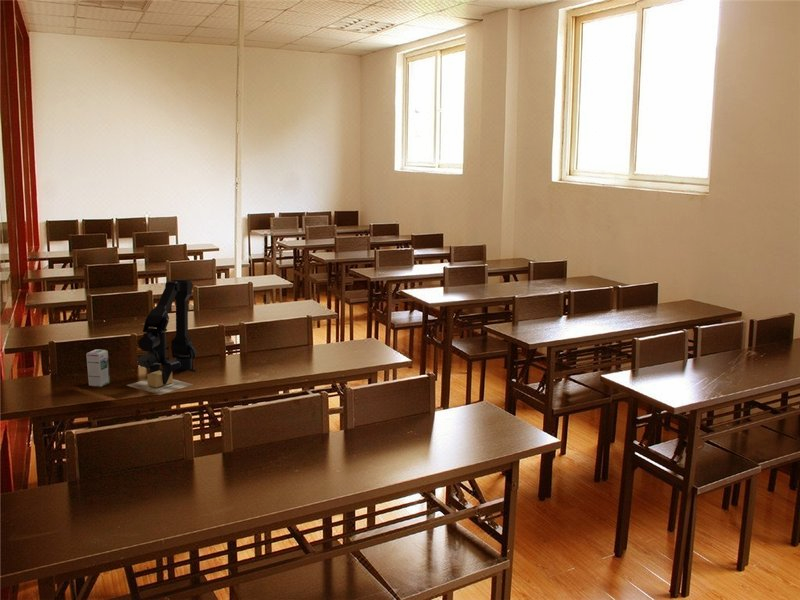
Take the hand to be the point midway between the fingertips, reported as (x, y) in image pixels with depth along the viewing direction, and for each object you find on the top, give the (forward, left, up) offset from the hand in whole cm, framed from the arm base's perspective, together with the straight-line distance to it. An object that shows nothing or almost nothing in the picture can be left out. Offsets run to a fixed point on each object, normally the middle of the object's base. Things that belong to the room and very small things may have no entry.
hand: (160, 383), depth 281 cm
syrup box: (+13, -20, -2) cm, 24 cm away
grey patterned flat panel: (0, 0, -2) cm, 2 cm away
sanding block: (0, 0, -1) cm, 1 cm away
